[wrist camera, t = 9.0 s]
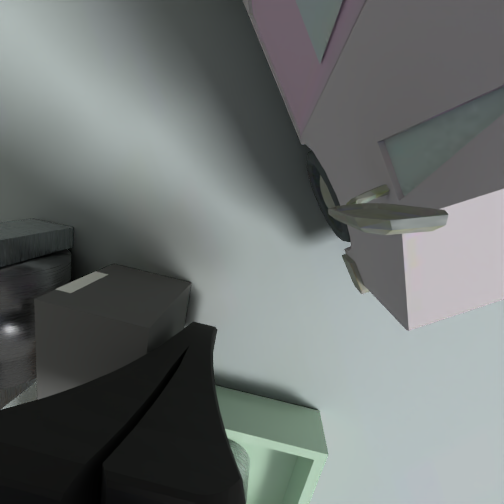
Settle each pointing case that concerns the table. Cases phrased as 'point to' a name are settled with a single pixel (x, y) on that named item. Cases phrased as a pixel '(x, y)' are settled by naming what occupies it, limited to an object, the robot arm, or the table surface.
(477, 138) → the toy vehicle
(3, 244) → the trolley wheel
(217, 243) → the table surface
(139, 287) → the block
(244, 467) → the pin
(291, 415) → the tray
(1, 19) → the table surface
